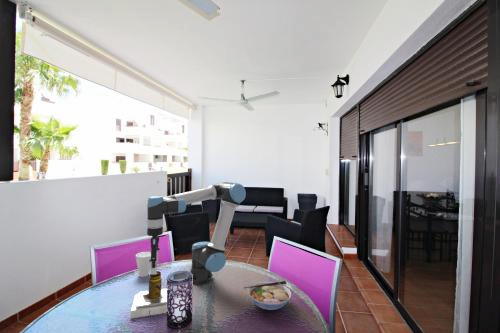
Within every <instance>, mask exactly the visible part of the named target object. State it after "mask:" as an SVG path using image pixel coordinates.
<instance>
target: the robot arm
mask: <svg viewBox="0 0 500 333" xmlns="http://www.w3.org/2000/svg"><path fill="white" fill-rule="evenodd" d="M246 192H247V191H246V189H245V187H244V185H242V184H240V183H238V182H228V181H226V182H225V181H224V182H219V183H216V184H212V185H209V186H208V187H205V188H200V189H196V190H190V191H186V192H182V193H181V192H180V193H176V194H173V195H171V194H170V195H168V196H167V195H161V196H160V195H156V196H154V195H153V196H149V197H148V198H147V205H146V208H147V220H146V221H145V222H146V224H147V225H146V226H147V228H146V235H147V236H149V237H150V252H151V260H149V262H151V266H150V273H151V275H152V274H157V271H158V264H159V251H160V249H161V248H160V247H159V242H160V237H159V236H162V235H163V232H164V227H163V226H164V215H170V214H180V213H184V212H185V211H186V209H187V205H191V204H196V203H200V202H203V201H207V200H213V201H214V200H220V201H221V203H222V205H221V207H220V208H221V209H220V211H219V214H218V219H217V221H216V223H215V227H214V230H213V233H212V237H211V239H210V241H199V242H195V243H193V244H192V245H191V246H192V247H191V268H190V271H189V273H190V272H191V273H192V274H193V283H192V284H193V285H205V284H208V283H210V282H212V281H213V276H214V275H213V273H217V272H219V271H220V270H222V269H223V268H224V267H225V266H226V263H227V257H226V255H225V253H226V248H225V244H226V240H227V237H228V236H229V235H228V234H229V231H230V228H231V224H232V222H233V218H234V214H235V211H236V208H239V207H240V203H242V202H243V201H244V200H245V199H246V196H247V195H246V194H247V193H246ZM152 258H153V259H152Z"/></svg>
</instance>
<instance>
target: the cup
mask: <svg viewBox="0 0 500 333" xmlns="http://www.w3.org/2000/svg"><path fill="white" fill-rule="evenodd" d="M152 259H153V258H152ZM149 260H151V251H141V252H138V253H136V254H135V261H136V266H137V270H138V276H139V277H141V278H144V277H148V276H150V271H151V262H149Z"/></svg>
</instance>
